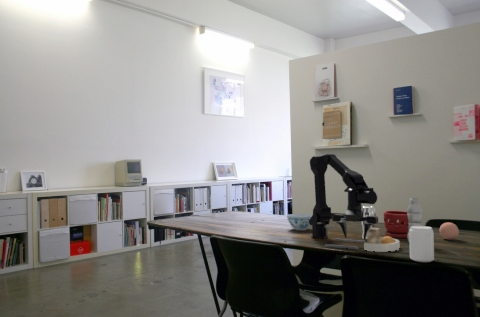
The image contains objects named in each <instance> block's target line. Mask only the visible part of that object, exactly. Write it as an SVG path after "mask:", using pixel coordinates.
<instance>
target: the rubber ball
mask: <svg viewBox="0 0 480 317" xmlns="http://www.w3.org/2000/svg"><path fill="white" fill-rule="evenodd" d="M383 237H384V238H383V239H382V244H389V243H394V240H393V238H394V237H389V236H387V235H385V236H383Z"/></svg>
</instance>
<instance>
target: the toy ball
mask: <svg viewBox="0 0 480 317" xmlns="http://www.w3.org/2000/svg"><path fill="white" fill-rule="evenodd" d="M439 234H440V236H441V237H442V238H444V239H446V240H448V241H449V240H450V241H451V240H452V241H453V240H454V239H456V238H457V237H458V235H460V230H459V228H458V226H457V225H456V224H454V223H453V222H444V223H442V224H441V225H440V227H439Z"/></svg>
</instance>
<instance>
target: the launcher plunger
mask: <svg viewBox="0 0 480 317" xmlns="http://www.w3.org/2000/svg"><path fill="white" fill-rule="evenodd" d="M380 230H381V229H380V227H375V228H372V229H370V230H369V231H368V232H367V239H366V241H367V242H366V243H373V244H380V237H381V236H380V234H381V231H380Z"/></svg>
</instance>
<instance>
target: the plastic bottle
mask: <svg viewBox="0 0 480 317" xmlns="http://www.w3.org/2000/svg"><path fill="white" fill-rule="evenodd" d="M406 212H407V215H408V222H409V223H408V224H409V227H408V235H407V237H406V238H407V241H408V242H409V230H410V228H411V226H422V218H423V209H422V207H421V205H420V201H419V197H414V198H413V197H410V198H409V205H408V207H407V209H406Z"/></svg>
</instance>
